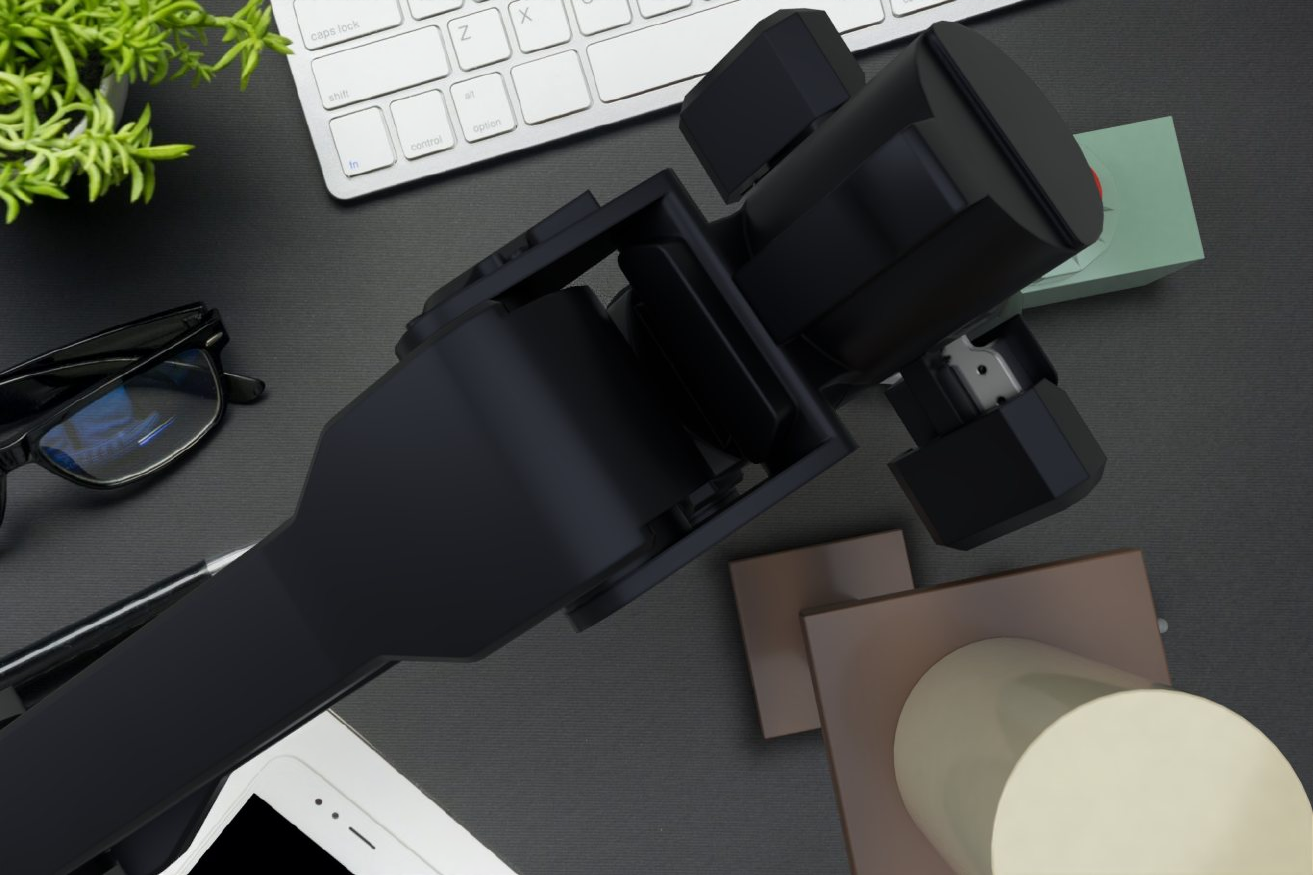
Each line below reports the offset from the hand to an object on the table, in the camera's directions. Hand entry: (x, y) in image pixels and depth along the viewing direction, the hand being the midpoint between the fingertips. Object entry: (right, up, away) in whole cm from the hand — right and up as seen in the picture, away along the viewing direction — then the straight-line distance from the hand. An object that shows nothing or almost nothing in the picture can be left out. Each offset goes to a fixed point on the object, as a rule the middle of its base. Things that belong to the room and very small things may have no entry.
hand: (974, 240), depth 43 cm
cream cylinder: (-4, -16, -15) cm, 23 cm away
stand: (-4, -18, +12) cm, 22 cm away
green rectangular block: (+7, +3, +14) cm, 16 cm away
